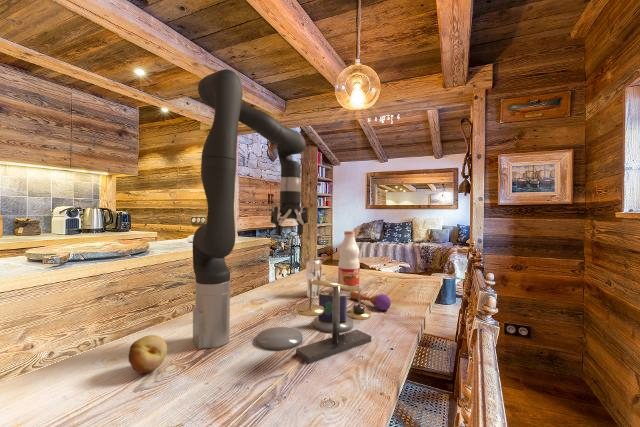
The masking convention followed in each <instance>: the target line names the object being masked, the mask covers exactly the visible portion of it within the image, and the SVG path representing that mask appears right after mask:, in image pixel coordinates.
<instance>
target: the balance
mask: <svg viewBox="0 0 640 427" xmlns="http://www.w3.org/2000/svg"><path fill="white" fill-rule="evenodd" d="M309 283H310V298H309V303H307V304H306V303H305V304H301V305H298V306H297V307H296V313H297V315H298V314H299V315H300V316H304V317H318V316H319V315H322V314H323V313H324V307H322V306H320V305H319V304H315V303H312V302H313V301H312V300H313V298H312V284H314V285H320V287H327V288H332V289H333V312H332V333H331V337H329V338H325V339H322V340H319V341H316V342H312V343H309V344H306V345H304V346H300V347H295V355H296V356H297V357H299V358H300V359H302V360H303V361H305V362H306V363H308V364H309V365H310V364H313V363H315V362H318V361H321V360H323V359H326V358H329V357H332V356H334V355H338V354H340V353H342V352H345V351H348V350H351V349H354V348H357V347H359V346H362V345H365V344H368V343H371V342H372V335H370V334H367V333H366V332H363V331H362V330H360V329H354V330H349V331H346V332H343V333H342V334H341V333H339V328H340V289H345V290H351V291H357V292H358V300H357V304H354V305H353V306H352V309H347V317H348V318H350V319H352V320H358V321H364V320H369V319H371V317H372V312H371V311H369V310H367V309H365V306H364V305H361V302H360V301H361V300H360V294H361V291H362V288H361V287H360V286H359V287H353V286H348V285H342V284H338V283H336V282H330V281H323V280H321V281H319V280H313V279H310V280H309Z"/></svg>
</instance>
